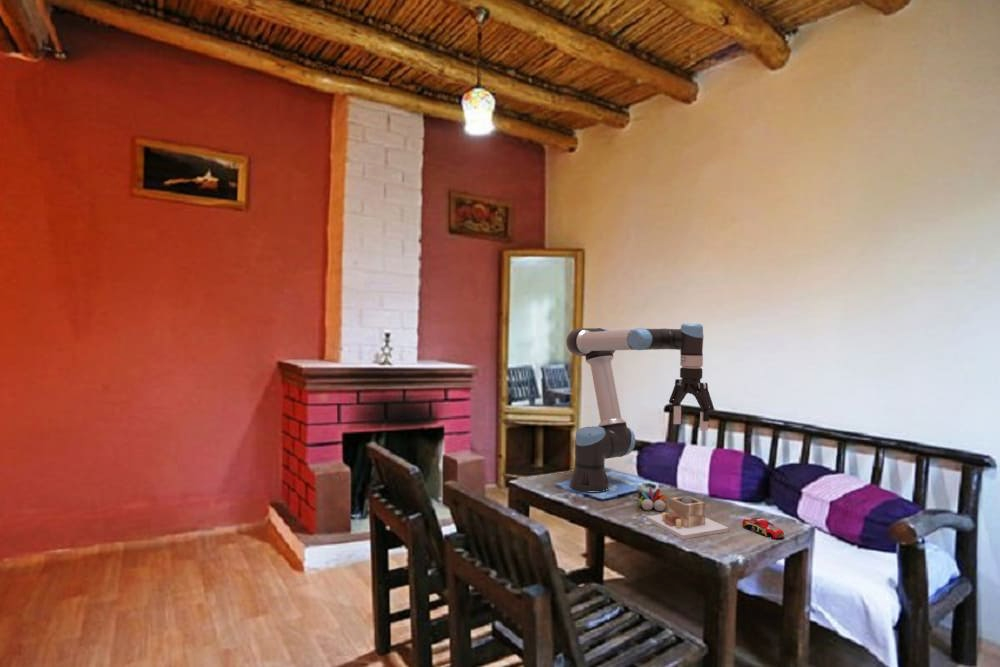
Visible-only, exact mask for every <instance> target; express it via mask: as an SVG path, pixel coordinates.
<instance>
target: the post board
mask: <svg viewBox="0 0 1000 667" xmlns="http://www.w3.org/2000/svg"><path fill="white" fill-rule="evenodd" d="M689 496H690V495H683V496H681V497H682V502H683V503H685V504H689V503H692V497H693V496H690V497H689ZM665 514H669V512H668V513H667V512H663V511H662V513H660V514H654V515H647V516H646V517H645V518H646V521H647V522H649V523H651V524H653V525H655V526H657V527H659V528H660V529H662V530H664V531H666V532H668V533H670V534H672V535H674V536H676V537H678V538H679V539H681V540H688V539H693V538H699V537H706V536H711V535H717V534H722V533H729V532H730V528H729V527H728V526H725V525H724V524H721V523H719V522H716V521H714V520H712V519H710V518H709V517H706V516H705V525H700V526H693V527H687V528H685V527H683V526H681V520H680V519H676V526H669V525H667V524H665Z"/></svg>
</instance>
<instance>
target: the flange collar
mask: <svg viewBox="0 0 1000 667" xmlns="http://www.w3.org/2000/svg"><path fill="white" fill-rule="evenodd" d="M688 496H689V497H692V503H689V504H685V503H683V502H682V496H676V497H675V496H674V497H669V498H668V513H669V514H665V524H667V525H669V526H676V519H680V520H681V526H683V527H685V528H687V527H693V526H700V525H705V517H706V509H707V507H706V505H707V503H706V502H705V501H703V500H700V499H697V498H695V497H693V496H691V495H688Z"/></svg>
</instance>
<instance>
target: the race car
mask: <svg viewBox="0 0 1000 667" xmlns="http://www.w3.org/2000/svg"><path fill="white" fill-rule="evenodd" d="M741 525H742V527H743V528H744V529H745V530H748V531H751V532H753V533H756V534H758V535H761V536H764V537H767V538H768V537H771V538H773V539H774V538H778V539H780V538H781V539H783V538H784V537H785V533H784V531H783V530H782V529H781V528H779V527H777V526H775V524H774V523H772V522H770V521H769V520H767V519H764V518H761V517H745V518H743V519H742V523H741ZM778 539H777V540H778Z"/></svg>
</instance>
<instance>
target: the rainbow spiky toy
mask: <svg viewBox="0 0 1000 667" xmlns="http://www.w3.org/2000/svg"><path fill="white" fill-rule="evenodd" d="M648 491H649V492H648V493H649V494H648V493H647V492H646V491H644V490H643V491H642V492H641V495H642V496H640V498H639V499H638V503H639V504H640V505H641V507H642V509H643V510H645V511H648V512H649V511H651V510H652V509H653V508H654V509H655V511H657V512H663V511H664V510H665V509H666V508H667V507H668V503H667V502H666V501H665V500H666V499H667V497H668V496H667V494H666V493H665V494H664V493H663V494H660V493H661V489H660V488H656V490H655V492H653V488H652V487H649V488H648Z"/></svg>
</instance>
